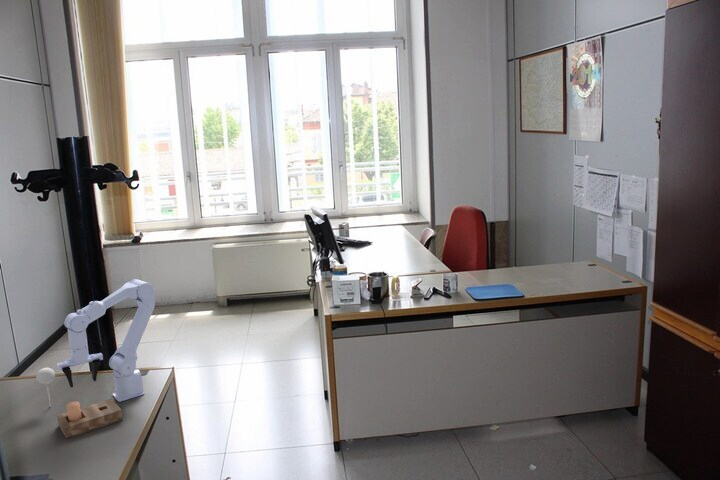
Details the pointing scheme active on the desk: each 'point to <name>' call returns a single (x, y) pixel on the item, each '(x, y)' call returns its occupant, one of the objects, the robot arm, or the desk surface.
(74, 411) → the pin
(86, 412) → the socket block
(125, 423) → the desk surface
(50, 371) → the lollipop
